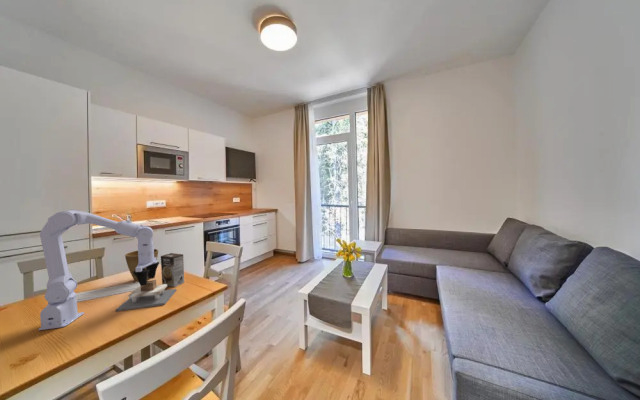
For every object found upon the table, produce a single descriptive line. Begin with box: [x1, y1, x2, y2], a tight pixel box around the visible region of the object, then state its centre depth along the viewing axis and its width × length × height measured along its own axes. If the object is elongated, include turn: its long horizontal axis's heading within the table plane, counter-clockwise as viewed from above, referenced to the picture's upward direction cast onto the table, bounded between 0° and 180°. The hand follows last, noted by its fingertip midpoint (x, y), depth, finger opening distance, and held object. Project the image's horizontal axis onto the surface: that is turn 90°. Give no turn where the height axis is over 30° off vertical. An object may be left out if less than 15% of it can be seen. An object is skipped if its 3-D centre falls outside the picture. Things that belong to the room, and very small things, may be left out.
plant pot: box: [124, 248, 159, 282], centre depth 125 cm, size 15×15×16 cm
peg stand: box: [115, 288, 177, 312], centre depth 101 cm, size 14×18×4 cm
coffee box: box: [160, 252, 185, 288], centre depth 118 cm, size 9×6×16 cm
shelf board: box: [127, 279, 168, 299], centre depth 101 cm, size 12×8×5 cm, turn 105°
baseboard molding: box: [75, 281, 140, 303], centre depth 109 cm, size 31×3×12 cm
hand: (147, 281), depth 101 cm, fingers open, 7 cm apart
